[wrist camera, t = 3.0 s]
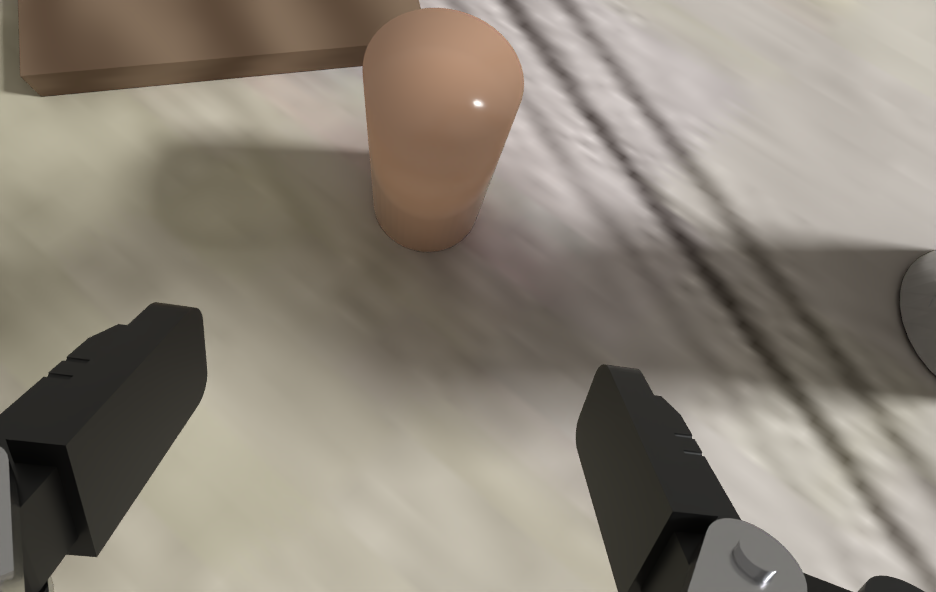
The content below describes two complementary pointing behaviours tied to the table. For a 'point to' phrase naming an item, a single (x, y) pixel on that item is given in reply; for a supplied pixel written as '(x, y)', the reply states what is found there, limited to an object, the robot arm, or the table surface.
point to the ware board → (190, 39)
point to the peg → (436, 122)
